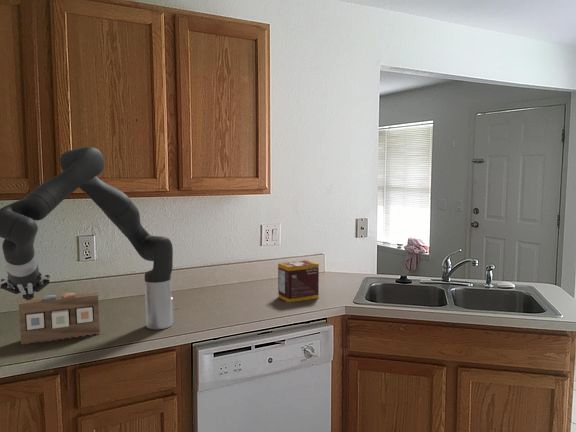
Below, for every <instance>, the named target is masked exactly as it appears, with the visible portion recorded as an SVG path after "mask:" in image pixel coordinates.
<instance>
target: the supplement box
mask: <svg viewBox="0 0 576 432" xmlns="http://www.w3.org/2000/svg"><path fill="white" fill-rule="evenodd" d="M277 265H278V266H277V270H278V271H277V275H278V276H277V277H278V278H277V280H278V281H277V283H278V287H277V289H278V293H277V295H278V298H280V299H282V300H283V301H285V302H287V303H294V302H295V303H296V302H301V301H302V302H303V301H308V300H316V299H319V298H320V297H319V291H320V290H319V288H320V287H319V281H320V280H319V277H320V275H319V274H320V272H319V270H320V269H319V266H320V265H319V263H318V262H317V263H316V262H314V261H310V260H309V259H307V260H306V259H305V260H299V261H297V260H296V261H288V262H287V261H286V262H279V263H277Z"/></svg>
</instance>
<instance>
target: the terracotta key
mask: <svg viewBox="0 0 576 432" xmlns="http://www.w3.org/2000/svg"><path fill="white" fill-rule="evenodd" d="M76 310H77V323H84V322H92V321H93V312H92V306H86V307H78V308H76Z"/></svg>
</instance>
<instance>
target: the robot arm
mask: <svg viewBox="0 0 576 432" xmlns="http://www.w3.org/2000/svg"><path fill="white" fill-rule="evenodd" d="M59 165H60V168H61V170H62V171H61V172H60V173H58V174H57V175H55V176H53V177H51V178H49V179H48V180H46V181H44V182H42V183H41V184H39V185H38V186H37V187H35V188H34V189H33V190H31V192H29V193H28V194H26V196H25V197H23V198H21V199H19V200H16V201H14V202H12V203H10V204H7V205H5V206H2V207H1V208H0V238H2V239H4V240H3V242H2V246H1V247H2V253H3V256H4V265H5V269H6V273H7V278H1V279H0V288H1V289H2V290H4V291H7V292H9V293H12V294H14V295H19V294H21V295H22V298H23V299H26V300H32V298H35V293H39V292H40V291H42V290H43V289H44V288H45V287H47V286H48V285H49V284H50V283H51V282H50V275H49V274H45V275H42V273H41V272H40V270H39V264H38V258H37V255H36V252H35V247H34V243H35V240H36V239H35V238H36V237H37V233H38V231H39V230H38V229H39V226H38V224H37V221H42V220H44V219H45V218H46V217H47V216H49V214H51V212H53V210H54V209H55V208H57V207H58V206H59V205H60V204H61V203H62V202H63V201H64V200H65V199H67V197H69V196H70V195H72V193H74V192H75V191H76V190H77V189H80V190H81V191H82V192H84V194H86V195H87V196H88V197H89V198H90V199H91V200H92V201H93V203H95V205H96V206H98V208H99V209H100V210H101V211H102V212H103V214H104V215H105V216H106V217H107V218H108V219H109V220H110V222H112V223H113V225H114V226H116V228H118V230H119V231H120V232H121V233H122V234H123V236H125V238H126V239H128V241H129V242H130V244H131V245H132V247H133V248H134V249H135V250H136V252H137V254H138V255H139V256H140V257H141V258H142V259H143V260H144V261H145V260H146V261H149V262H153V264H152V265H153V266H152V269H151V270H148V271H146V272H145V273H144V296H145V301H144V302H145V321H146V323H145V324H146V328H147V329H150V330H163V329H167V328H170V327H172V325H173V324H174V322H175V321H174V319H175V318H174V299H173V297H172V282H171V281H172V279H171V277H172V273H173V267H174V266H173V263H174V262H173V260H174V249H173V248H174V247H173V243H172V241H171V239H170V238H169V237H166V236H160V235H158V236H157V235H152V234H150V233H149V232H148V231H147V230H146V229H145V228H144V227H143V225H142V223H141V215H140V211H139V208H138V207H137V206H136V204H135V203H134V201H132V200H131V198H130V197H129V196H128V195H127V194H126V193H124V192H123V191H122V190H120V189H118V188H116V187H114V186H112V185H110V184H108V183H106V182H104V181H103V180H101V179H100V178H99V177H98V176H99V175H100V174H101V173H102V172H103V170H104V167H105V158H104V155H103V153H102V151H100V150H99V149H98V148H96V147H94V146H93V147H92V146H84V147H80V148H73V149H70V150H67V151H65V152H63V153H62V154H61V156H60V157H59Z"/></svg>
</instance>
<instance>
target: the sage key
mask: <svg viewBox="0 0 576 432" xmlns="http://www.w3.org/2000/svg"><path fill="white" fill-rule="evenodd" d="M67 326H69V310H68V309H61V310H53V311H52V328H60V327H67Z"/></svg>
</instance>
